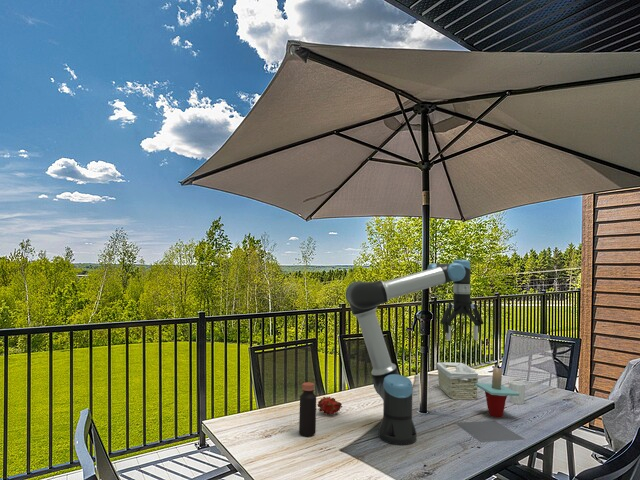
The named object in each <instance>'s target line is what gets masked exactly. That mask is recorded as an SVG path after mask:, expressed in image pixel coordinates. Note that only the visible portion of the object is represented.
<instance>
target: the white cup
mask: <svg viewBox="0 0 640 480" xmlns="http://www.w3.org/2000/svg"><path fill="white" fill-rule="evenodd" d="M508 388H509V389H511V390H513V391H515V392H517V393H519V396H509V402H510V403H512V404H515V405H524V404H525V397H526V383H525V382H522V381H517V380H510V381H508Z"/></svg>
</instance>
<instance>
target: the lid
mask: <svg viewBox="0 0 640 480" xmlns="http://www.w3.org/2000/svg"><path fill="white" fill-rule="evenodd" d="M502 377H503V369H501V368H498V367H493V368H492V379H491V380H492V381H491V383H482V382H480V383H479V382H478V383H475V384H474V385H475V386H477V387H478V388H479V389H481V390H482V391H484V392H485V391H486V392H488V393H489V394H491V395H506V396H507V397H510V396H519V393H517V392H515V391H513V390H511V389H509V387H506V386H505V385H502V380H503V379H502Z"/></svg>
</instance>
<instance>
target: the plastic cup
mask: <svg viewBox="0 0 640 480" xmlns="http://www.w3.org/2000/svg"><path fill="white" fill-rule="evenodd" d="M484 394H485V399H486V405H487V406H486V407H487V410H488V415H489V416H490V417H493V418H497V419H499V418H502V417H503V416H504V413H505V412H504V411H505V406H506V402H507V398H508V396H506V395H491V394H489V393H488V392H486V391H484Z"/></svg>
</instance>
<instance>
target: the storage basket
mask: <svg viewBox="0 0 640 480" xmlns="http://www.w3.org/2000/svg"><path fill="white" fill-rule="evenodd" d="M436 368H437V377H438V387H439V388H440V389H441V390H442V391H443V392H444V393H445V394H446V396H448V397H449V398H450V399H452V400H471V401H473V400H477V399H478V388H479V387H477V386H475V385H474V384H475V383H479V381H478V380H479V378H480V377H479V373H478V372H477V371H476V370H475V369H473V368H472V367H470V366H469V365H467V364H466V363H463V362H447V361H445V362H437V363H436ZM448 368H455V370H449V369H448Z"/></svg>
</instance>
